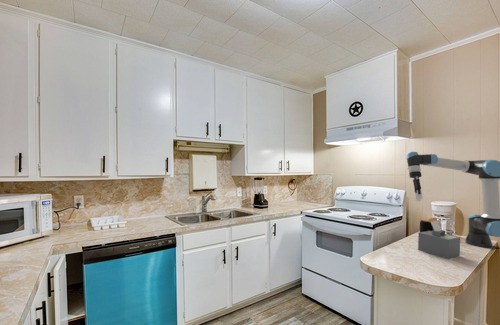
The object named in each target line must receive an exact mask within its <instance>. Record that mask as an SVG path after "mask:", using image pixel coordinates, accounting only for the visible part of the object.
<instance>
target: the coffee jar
mask: <svg viewBox="0 0 500 325" xmlns="http://www.w3.org/2000/svg"><path fill="white" fill-rule="evenodd" d="M429 219H430V218H427V217H426V218H425V217H424V218H423V217H422V218H420V219H419V232H425V231H432V230H434V229H433V226H432V224H431V222H430V221H429Z"/></svg>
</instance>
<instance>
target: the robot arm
mask: <svg viewBox="0 0 500 325" xmlns="http://www.w3.org/2000/svg"><path fill="white" fill-rule="evenodd" d="M406 162H407V170H408V172H409V174H408V175H409V178H410V179H412V182H413V188H414V194H415V200H416V202H421V201H422V200H424V199H423V194H422V186H421V182H420V181H421V180H420V178H421V177H422V170H421V169H422V168H421V166H427V167H435V168H442V169H448V170H449V169H450V170H456V171H460V172H462V173H465V174H471V175H475V176H478V180H480V181H481V191H482V192H481V193H482V194H481V195H482V212H483V213H482V214H475V213H471V214H469V215H468V233H467V235H466V237H465V239H464V240H465V242H464V243H466V244H468V245H471V246H475V247H480V248H493V241H492V240H491V237H494V238H500V186H499V184H500V183H499V181H500V160H497V159H495V160H494V159H485V160H482V159H481V160H468V159H467V160H457V159H450V158H443V157H439V156H438V155H437V154H435V153H434V154H433V153H430V154H419V153H418V152H417V151H409V152H408V153H407V152H406Z"/></svg>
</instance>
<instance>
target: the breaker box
mask: <svg viewBox="0 0 500 325" xmlns="http://www.w3.org/2000/svg"><path fill="white" fill-rule="evenodd" d="M441 230H442V231H443V233H442V234H440V232H438V231H434V230H432V231H425V232H420V231H419V232H418V236H417V237H418V238H417V239H418V241H417V247H418V248H417V250H418V251H419V252H420V251H421V252H425V253H428V254H430V255H433V256H438V257H440V258H443V259H447V260H450V259H455V258H458V257H460V256H461V251H460V250H461V237H459V236H454V235H449V234H447V233H446V230H444V229H441Z"/></svg>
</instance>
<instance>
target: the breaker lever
mask: <svg viewBox="0 0 500 325" xmlns="http://www.w3.org/2000/svg"><path fill="white" fill-rule="evenodd" d="M428 219H429V221H430V222H431V224H432V226H433V229H434V231H438V232H440V234H442V233H443V231H442V230H443V229H441V227H440V224H439V221H438V218H437V217H431V218H428Z"/></svg>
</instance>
